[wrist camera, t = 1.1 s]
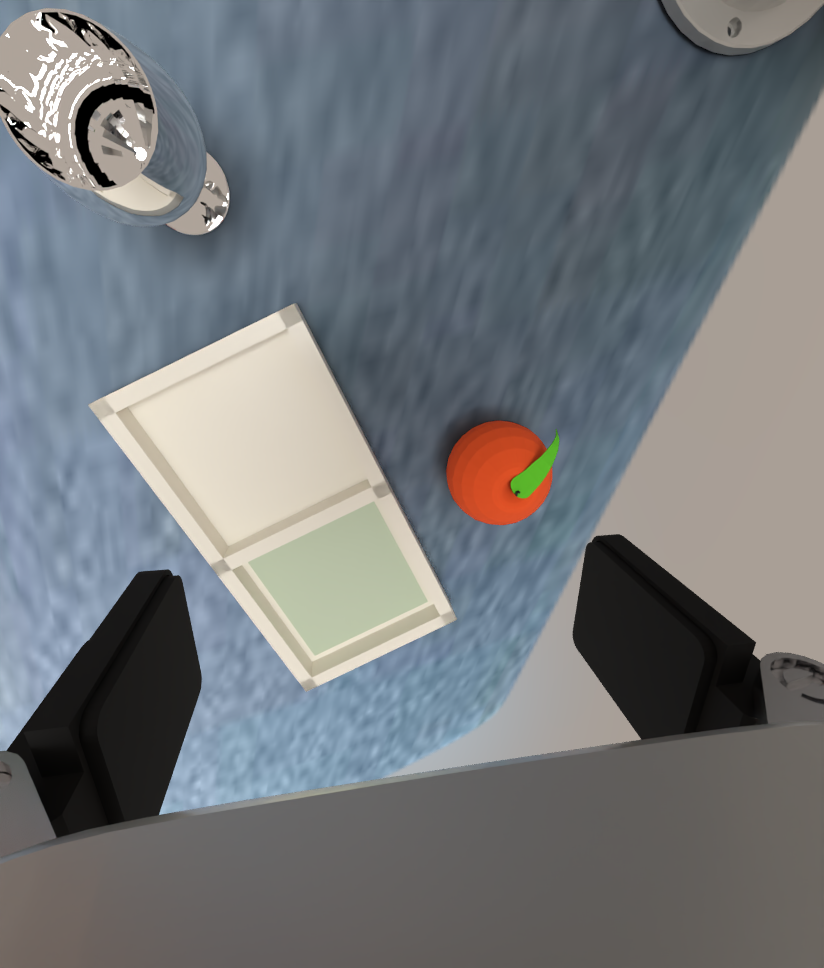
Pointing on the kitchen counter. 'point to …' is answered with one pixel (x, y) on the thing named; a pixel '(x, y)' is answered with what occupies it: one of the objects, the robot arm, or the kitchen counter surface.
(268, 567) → the two-compartment tray
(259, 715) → the kitchen counter surface
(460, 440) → the clementine
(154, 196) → the wineglass
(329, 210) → the kitchen counter surface
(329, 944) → the robot arm
